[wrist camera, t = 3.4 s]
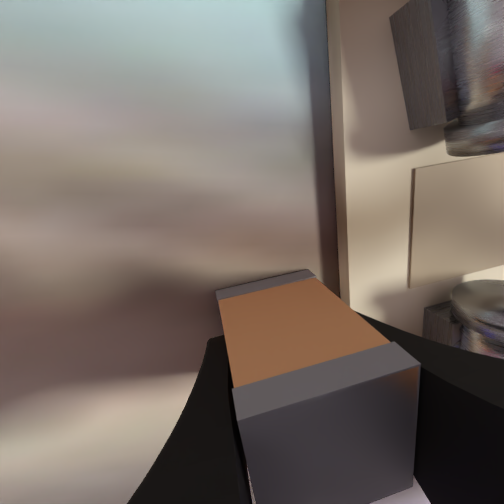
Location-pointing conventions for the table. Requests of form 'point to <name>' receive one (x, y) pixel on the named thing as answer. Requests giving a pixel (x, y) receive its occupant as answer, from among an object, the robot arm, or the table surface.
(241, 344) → the orange rectangular block
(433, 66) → the shaft
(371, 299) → the plate
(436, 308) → the shaft
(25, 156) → the table surface
